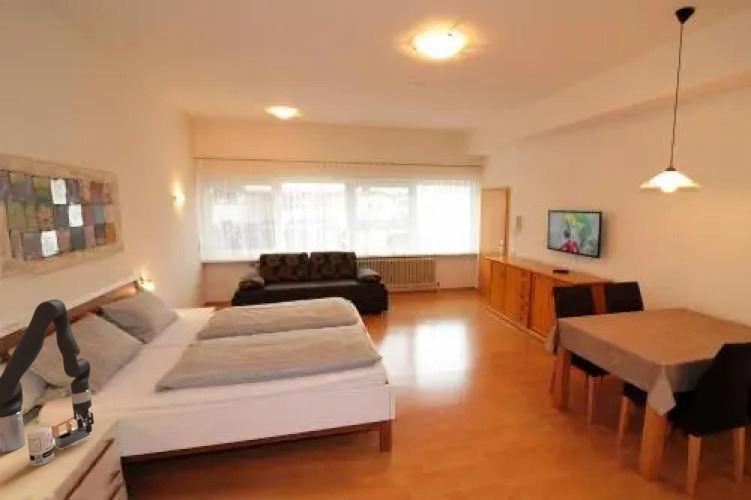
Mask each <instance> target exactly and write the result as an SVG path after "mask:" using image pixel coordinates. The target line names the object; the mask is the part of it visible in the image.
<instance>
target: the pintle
mask: <svg viewBox="0 0 751 500" xmlns="http://www.w3.org/2000/svg"><path fill="white" fill-rule="evenodd" d="M65 427H66V430H67V432H70V431H72V428H73V427H72V421H69V422H67V423H65Z"/></svg>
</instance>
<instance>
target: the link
mask: <svg viewBox="0 0 751 500" xmlns="http://www.w3.org/2000/svg"><path fill="white" fill-rule="evenodd" d="M90 435H91V432H89V433H87V432H86V425H83V426H82V427H80V428H78V427H77V428H75V430H73V431H70V432H67V433H64V434H62V435H59V436H57V437H55V445H56V446H57V447H59V448H61V449H62V448H64V447H66V446H68V445H71V444H73V443H75V442H76V441H78V440H80V439H82V438H85V437H87V436H90ZM73 445H74V444H73ZM71 446H72V445H71ZM57 447H56V448H57ZM59 448H58V449H59ZM62 450H63V449H62Z"/></svg>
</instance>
